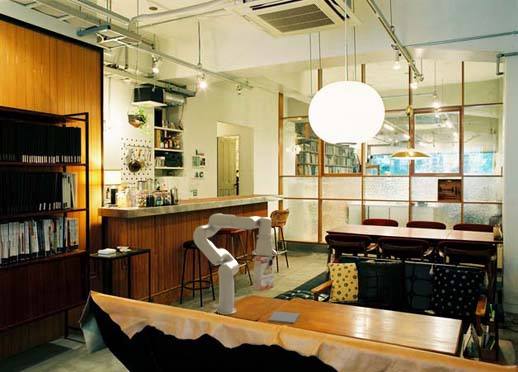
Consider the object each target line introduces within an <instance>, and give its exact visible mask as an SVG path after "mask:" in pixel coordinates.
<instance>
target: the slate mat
mask: <svg viewBox="0 0 518 372" xmlns="http://www.w3.org/2000/svg"><path fill="white" fill-rule="evenodd" d="M300 315H301V314H300V313H298V312H287V311H274V312H273V313H272V314H271V315H270V316H269V318H268V319H267V322H271V321H273V322H274V323H281V324H290V323H292V324H293V325H294V324H296V322H297V320H298V319H299V317H300ZM273 322H272V323H273ZM292 324H291V325H292Z"/></svg>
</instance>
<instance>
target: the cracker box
mask: <svg viewBox="0 0 518 372" xmlns="http://www.w3.org/2000/svg"><path fill="white" fill-rule="evenodd" d="M272 256H274V254H272ZM253 260H254V263H253V264H254V266H253V267H254V268H253V291H257V292H259V293H260V292H264V291H266V290H267V291H268V290H271V289H273V288H274V285H275V284H274V281H275V279H274V278H275V276H274V275H275V274H274V273H275V258H274V259H273V265H272V266H270V257H269V256H256V257H254V259H253Z"/></svg>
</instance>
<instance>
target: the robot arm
mask: <svg viewBox="0 0 518 372" xmlns="http://www.w3.org/2000/svg"><path fill="white" fill-rule="evenodd" d="M222 228H225V229H228V228H229V229H237V230H254V229H257V228H258V234H256V238H258V239H257V240H256V246H255V249H253V250H252V251H251V254H252V255H253V258H255V257H256V256H269V257H270V266H272V265H273V259H274V260H275V258H276V256H278V252H277V251H276V250H275V249H274V246H273V245H274V244H273V243H274V242H273V239H272V218H271V217H267V216H265V217H264V216H258V215H257V216H256V215H255V216H248V217H247V216H236V215H234V214H225V213H224V214H223V213H221V212H220V213H214V214H212V215H210V216H209V219H208V223H207V224H203V225H199V226H197V227H196V228H195V229H194V231H193V236H192V238H193V242H194V244H195V245H196V247H197V248H198V249H199V250H200V251H201V252H202V254H204V256H205V257H206V258H207V259H208V261H209V262H210V263H211V264H212V265H220V266H219V268H218V271H217V274H218V280H219V281H218V282H219V284H218V287H219V288H218V289H219V292H218V293H219V295H218V298H219V300H218V301H219V302H218V304H217V303H214V304H213V305H212V307H213V309H216V313H217V312H218V313H217V314H219V313H220V315H227V316H228V315H233V314H236V313H237V309H236V308H235V305H234V304H235V279H234V276H235V275H236V274H237V273H239V270H240V266H239V263H238V262H237V260H236V259H235V258H234V257H233V255H232V254H231V253H230V252H229V251H228V250H226V249H225V248H222V247H220V248H217V247H216V246H215V244H214V243H213V242H212V241H211V240H209V239H208V238H211V237H214V235H215V234H216V233H218V231H220V230H221V229H222ZM272 255H274V256H272Z"/></svg>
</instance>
